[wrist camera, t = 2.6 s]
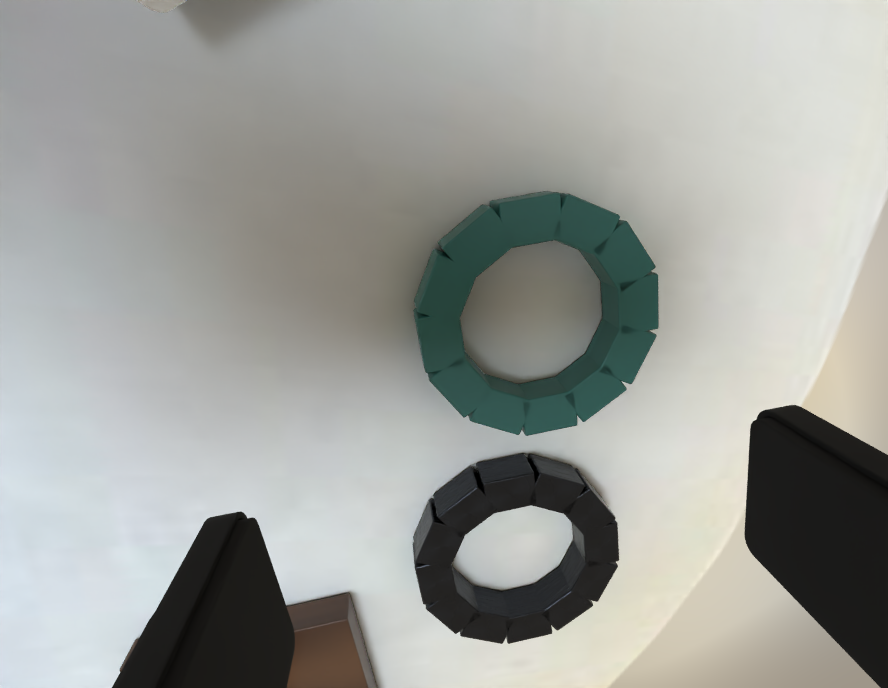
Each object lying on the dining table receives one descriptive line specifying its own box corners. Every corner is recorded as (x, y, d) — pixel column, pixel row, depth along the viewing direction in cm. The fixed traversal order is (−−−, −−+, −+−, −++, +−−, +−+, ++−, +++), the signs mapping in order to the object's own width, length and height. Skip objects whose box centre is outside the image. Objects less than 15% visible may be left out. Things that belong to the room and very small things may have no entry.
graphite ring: (398, 478, 22) (399, 501, 20) (599, 437, 22) (615, 456, 21) (432, 631, 25) (435, 661, 23) (608, 591, 25) (622, 618, 24)
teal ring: (395, 217, 18) (397, 220, 17) (635, 175, 19) (657, 175, 17) (436, 434, 21) (440, 454, 20) (640, 392, 22) (660, 408, 20)
